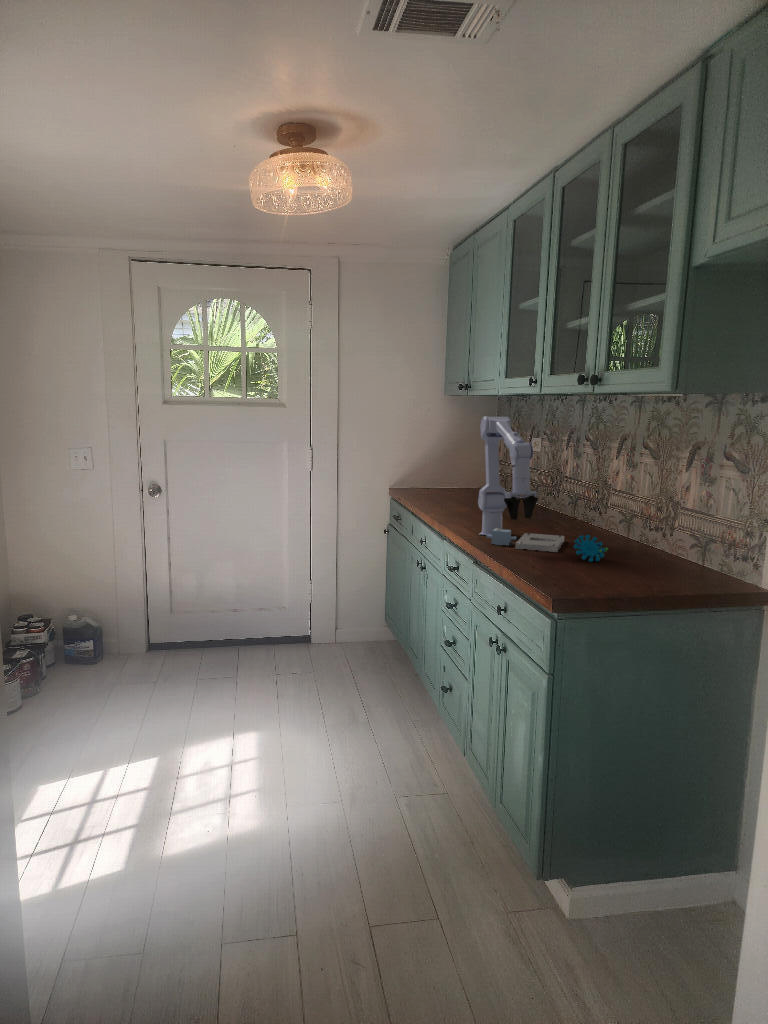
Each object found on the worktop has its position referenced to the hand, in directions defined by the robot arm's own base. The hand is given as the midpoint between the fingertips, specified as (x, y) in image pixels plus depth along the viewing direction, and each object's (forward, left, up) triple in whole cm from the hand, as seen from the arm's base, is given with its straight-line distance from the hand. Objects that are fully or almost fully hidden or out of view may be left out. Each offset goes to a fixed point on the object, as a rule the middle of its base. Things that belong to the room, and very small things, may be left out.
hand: (521, 518), depth 230 cm
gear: (+8, +24, -11) cm, 27 cm away
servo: (-5, -7, -10) cm, 14 cm away
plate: (-9, +6, -10) cm, 15 cm away
